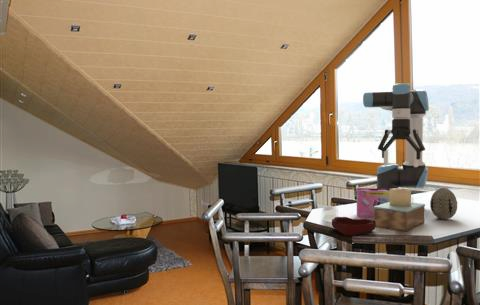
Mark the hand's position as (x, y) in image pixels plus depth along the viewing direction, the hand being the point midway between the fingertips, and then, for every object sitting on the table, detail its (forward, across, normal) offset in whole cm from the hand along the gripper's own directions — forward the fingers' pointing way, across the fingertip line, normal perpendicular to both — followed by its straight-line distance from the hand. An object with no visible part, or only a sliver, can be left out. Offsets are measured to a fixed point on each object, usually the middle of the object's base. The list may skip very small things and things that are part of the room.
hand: (400, 166), depth 190 cm
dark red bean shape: (+27, -10, -27) cm, 39 cm away
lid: (+19, 0, -1) cm, 19 cm away
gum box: (+27, -15, +13) cm, 33 cm away
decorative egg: (+27, +11, +26) cm, 39 cm away
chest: (+26, 0, 0) cm, 27 cm away
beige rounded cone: (+18, 0, 0) cm, 18 cm away
